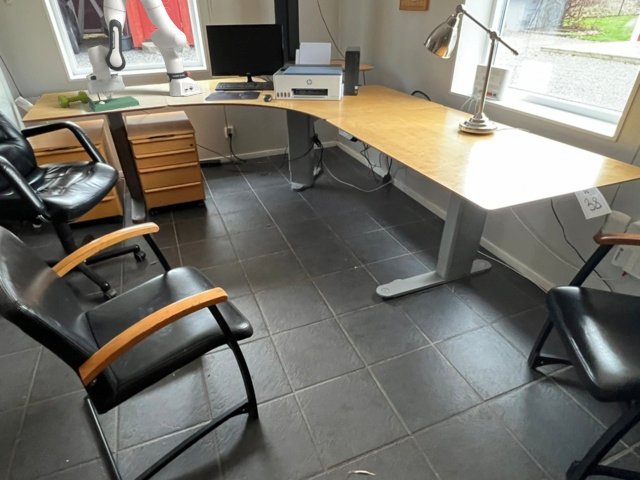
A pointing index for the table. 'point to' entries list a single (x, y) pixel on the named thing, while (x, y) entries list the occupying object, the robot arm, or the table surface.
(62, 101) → the dumbbell
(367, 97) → the table surface
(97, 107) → the putting mat
